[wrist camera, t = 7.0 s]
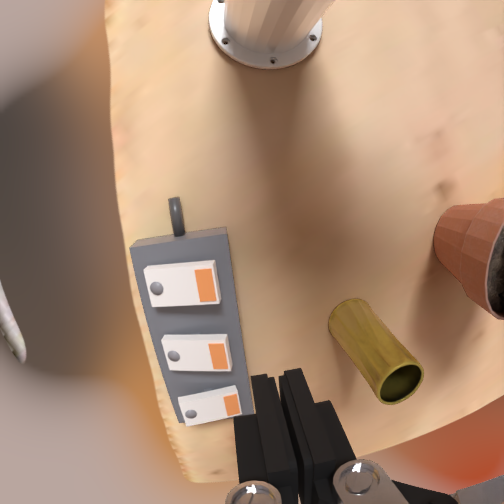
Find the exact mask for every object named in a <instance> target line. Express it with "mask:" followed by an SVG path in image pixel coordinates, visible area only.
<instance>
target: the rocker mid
mask: <svg viewBox="0 0 504 504" xmlns="http://www.w3.org/2000/svg"><path fill="white" fill-rule="evenodd" d="M161 342H162V345H163V349H164V352H165V356H166V359H167V363H168V366H169V369H170V370H178V371H231V369H232V365H233V364H232V358H231V353H230V347H229V341H228V336H227V334H196V335H164V337H163V338H162V340H161Z"/></svg>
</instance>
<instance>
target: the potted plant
mask: <svg viewBox="0 0 504 504" xmlns="http://www.w3.org/2000/svg"><path fill="white" fill-rule="evenodd" d="M434 249H435V253H436V256H437V257H438V259H439V261H440V262H441V263H442V264H443V265H444V266H445V267H446V268H447V269H448V270H449V271H450V272H451V273H452V274H453V275H454V276H455V277H456V278H457V279H458V280H459V281H460V282H461V283H462V286H463V288H464V290H465V292H466V294H467V296H468V297H469V298H471V299H472V300H473V301H474V302H476V303H477V304H478V305H480V306H481V307H482V308H484V309H485V310H486V311H488V312H489V313H490V314H492V315H493V316H494V317H495V318H497V319H501V320H504V198H498V199H493V200H491V201H490V202H488V203H487V204H469V205H456V206H453V207H451V208H449V209H447V211H446V212H445V213H444V214H443V215H442V216H441V218H440V220H439V222H438V224H437V226H436V230H435V234H434Z"/></svg>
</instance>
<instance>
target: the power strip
mask: <svg viewBox="0 0 504 504" xmlns="http://www.w3.org/2000/svg"><path fill="white" fill-rule="evenodd" d="M168 201H169V208H170V214H171V220H172V227H173V233H174V234H172V235H166V236H159V237H152V238H146V239H139V240H137V241H136V242H135V243H134V244H133V245H132V246H131V247H130V253H131V258H132V262H133V267H134V271H135V276H136V280H137V284H138V289H139V293H140V297H141V301H142V305H143V309H144V313H145V316H146V320H147V324H148V327H149V331H150V335H151V338H152V342H153V345H154V349H155V352H156V355H157V359H158V362H159V365H160V368H161V371H162V375H163V378H164V381H165V384H166V387H167V390H168V393H169V396H170V399H171V402H172V405H173V407H174V410H175V413H176V416H177V419H178V421H179V423H185V420H184V418H183V415H182V412H181V409H180V406H179V402H178V397H182V396H187V395H192V394H197V393H202V392H207V391H211V390H216V389H220V388H224V387H229V386H233V385H235V386H236V388H237V391H238V395H239V401H240V406H241V411H242V414H241V415H237V416H242V415H250V414H254V410H253V404H252V398H251V392H250V386H249V380H248V373H247V367H246V361H245V354H244V348H243V341H242V334H241V328H240V321H239V314H238V308H237V301H236V294H235V287H234V280H233V273H232V266H231V259H230V252H229V244H228V237H227V230H226V227H221V228H214V229H207V230H200V231H193V232H186V233H185V230H184V224H183V217H182V211H181V204H180V197H174V198H169V199H168ZM209 260H215V262H216V268H217V275H218V281H219V287H220V294H221V301H220V303H219V304H205V305H187V306H166V307H152V305H151V301H150V297H149V292H148V288H147V284H146V279H145V275H144V269H145V268H146V267H147V266H151V265H162V264H174V263H186V262H197V261H209ZM196 334H227V336H228V341H229V347H230V353H231V358H232V364H233V365H232V369H231V371H178V370H170V369H169V366H168V363H167V359H166V356H165V352H164V349H163V345H162V342H161V340H162V338H163V337H164V335H196ZM229 418H234V416H233V417H229ZM225 419H228V418H225Z"/></svg>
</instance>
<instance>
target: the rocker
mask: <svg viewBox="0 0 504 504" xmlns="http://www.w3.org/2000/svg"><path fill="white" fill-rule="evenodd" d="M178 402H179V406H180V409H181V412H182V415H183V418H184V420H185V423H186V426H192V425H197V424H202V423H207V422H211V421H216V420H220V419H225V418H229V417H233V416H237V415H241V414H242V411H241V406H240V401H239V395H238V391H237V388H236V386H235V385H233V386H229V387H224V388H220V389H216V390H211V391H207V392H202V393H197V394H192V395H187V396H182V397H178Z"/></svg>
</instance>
